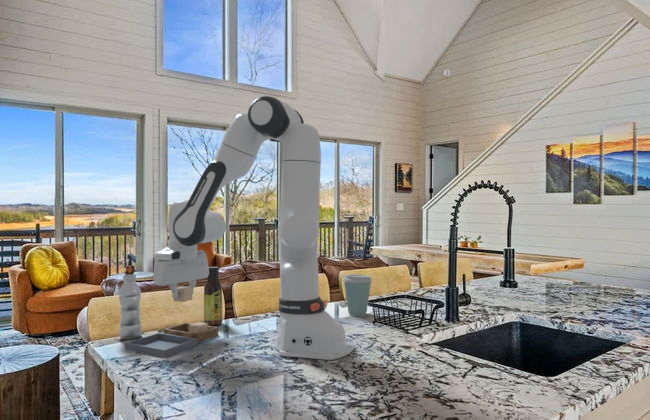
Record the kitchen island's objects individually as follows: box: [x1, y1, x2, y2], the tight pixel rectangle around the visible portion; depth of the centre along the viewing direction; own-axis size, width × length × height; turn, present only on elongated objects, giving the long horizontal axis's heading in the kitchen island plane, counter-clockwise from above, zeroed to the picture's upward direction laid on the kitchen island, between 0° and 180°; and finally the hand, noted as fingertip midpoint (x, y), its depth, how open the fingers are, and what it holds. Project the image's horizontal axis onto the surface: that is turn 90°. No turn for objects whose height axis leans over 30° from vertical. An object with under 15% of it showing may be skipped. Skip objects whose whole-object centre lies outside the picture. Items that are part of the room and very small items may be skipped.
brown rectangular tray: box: [163, 322, 219, 343], centre depth 143 cm, size 14×9×3 cm, turn 61°
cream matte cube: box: [189, 321, 209, 334], centre depth 141 cm, size 4×4×4 cm
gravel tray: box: [124, 332, 199, 358], centre depth 131 cm, size 16×12×2 cm
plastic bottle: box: [118, 273, 143, 341], centre depth 142 cm, size 6×7×20 cm
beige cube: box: [173, 285, 193, 303], centre depth 144 cm, size 4×4×4 cm
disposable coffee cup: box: [343, 273, 372, 317], centre depth 171 cm, size 11×11×15 cm
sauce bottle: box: [203, 266, 223, 327], centre depth 160 cm, size 6×6×20 cm
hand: (183, 296), depth 144 cm, fingers closed on beige cube, 4 cm apart
